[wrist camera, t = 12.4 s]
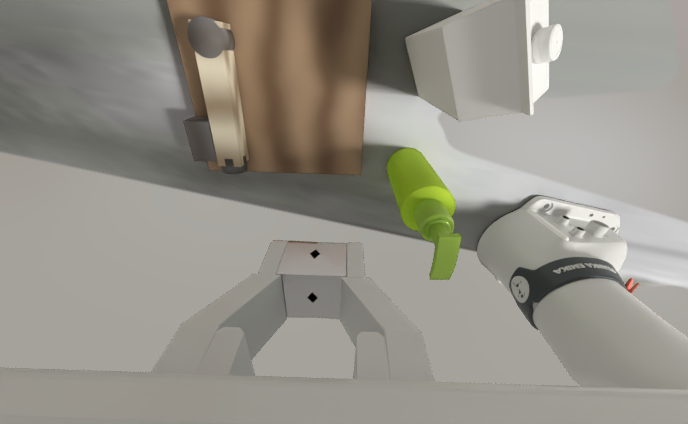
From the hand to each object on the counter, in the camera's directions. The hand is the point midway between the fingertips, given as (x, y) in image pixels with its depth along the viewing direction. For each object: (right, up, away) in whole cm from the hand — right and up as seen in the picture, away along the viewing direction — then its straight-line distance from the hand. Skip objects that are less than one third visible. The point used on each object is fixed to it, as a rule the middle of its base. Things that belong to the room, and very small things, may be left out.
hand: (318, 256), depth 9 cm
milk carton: (+13, +21, +24) cm, 34 cm away
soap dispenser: (+10, +8, +31) cm, 34 cm away
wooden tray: (-7, +17, +26) cm, 32 cm away
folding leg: (-14, +15, +24) cm, 32 cm away
